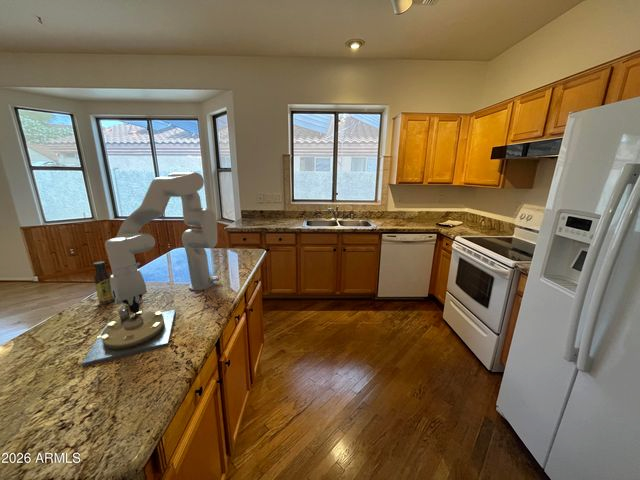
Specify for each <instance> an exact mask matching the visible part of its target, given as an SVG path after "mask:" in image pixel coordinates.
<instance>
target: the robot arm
mask: <svg viewBox="0 0 640 480" xmlns="http://www.w3.org/2000/svg"><path fill="white" fill-rule="evenodd" d="M204 186H205V179H204V177H203V175H201V174H200V173H199V172H197V171H175V172H171V173H169V174H168V175H167V176H159V177H154V179H152V180H151V182H150V184H149V186H148V188H147V191H146V193H145V195H144V197H143V200H142V202H141V204H140V206H139V207H138V208H137V209H135V210H134V211H133V212H132V213H131V214H130V215H128V216H127V217H126V218H125V219H124V221H122V223H121V225H120V226H119V229H118V232H117V234H116V237H114V238H110V239H107V240H106V241H105V242H104V246H105V251H106V254H107V255H106V256H107V258H108V262H109V265H110V269H111V272H112V274H111V275H110V283H111V291H112V296H113V298H114V299H115V300H114V304H115V305H118V306H119V305H123V304H125V305H126V304H128V310H129V313H133V314H135V313H137V312H139V311H140V309H141V307H140V303H138V302H139V301H140V298H141V297H142V298H143V296H145V295H146V294H147V293H148V291H147V286H146V283H145V279H144V277H143V274H142V272H141V271H140V269H139V267H140V266H141V263H140V262H136V258H135V255H136V254H140V253H146V252H149V251H151V250H152V249H153V248H155V245H156V238H155V237H154V236H153V235H151V234H150V233H146V232H139V231H140V230H141V228H143V227H144V226H145V225H146V224H148V223H149V222H151V221H154V220H156V219H158V218H160V217H162V216H163V215H164V214H165V211H166V209H167V206H168V204H169V202H170V200H171V198H180V199H181V206H182V217H183V218H182V219H183V222H184V224H185V225H186V226H188V227H197V228H189V229H186V230H185V231H183V232H182V235H181V243H182V245H183V247H184V250H185V253H186V254H185V255H186V259H187V265H188V267H187V268H188V270H189V271H188V272H189V277H190V278H189V279H190V283H189V284H188V290H190V291H203V290H207V289H210V288H211V287H213V286H214V284H215V283H214V282H217V281H218V282H219V281H220V277H219V276H216V275H214V276H211V275H212V274H210V268H209V260H208V254H207V251H206V249H213V248H215V246H216V245H217V244H218V224H217V215H216V214H215V212H214V210H212V209H210V208H206V207H205V208H204V207H202V202H201V201H202V200H201V196H200V195H199V193H198V191H200V190H202V189H203V188H204ZM200 228H201V229H200ZM132 297H133V302H132V300H131V298H132Z"/></svg>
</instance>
